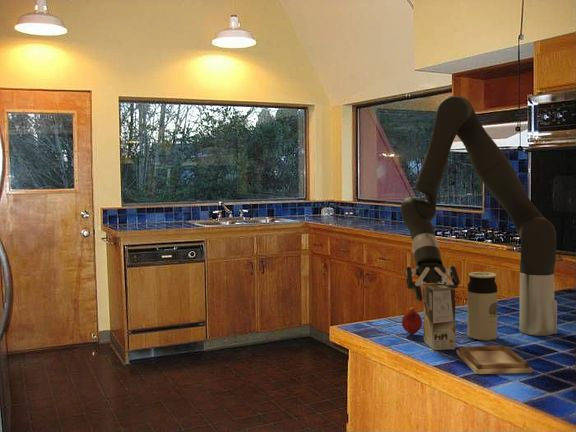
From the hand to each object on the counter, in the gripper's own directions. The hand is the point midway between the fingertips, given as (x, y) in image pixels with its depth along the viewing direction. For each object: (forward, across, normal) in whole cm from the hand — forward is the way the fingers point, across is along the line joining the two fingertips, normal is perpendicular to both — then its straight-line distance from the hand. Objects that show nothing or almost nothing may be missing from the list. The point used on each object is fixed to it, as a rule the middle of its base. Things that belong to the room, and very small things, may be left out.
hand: (436, 299), depth 167 cm
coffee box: (+10, 0, +7) cm, 12 cm away
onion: (+3, -5, +15) cm, 16 cm away
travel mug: (+5, +14, +12) cm, 19 cm away
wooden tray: (+21, +9, -5) cm, 24 cm away
